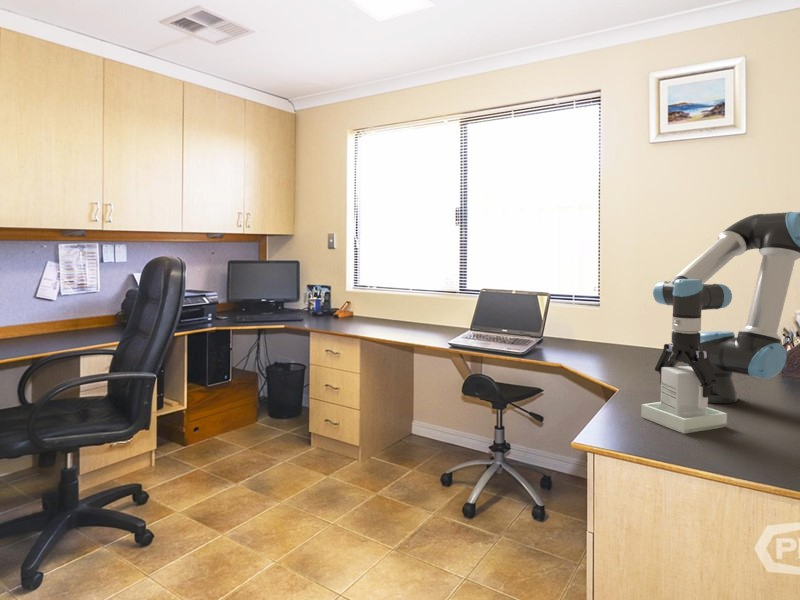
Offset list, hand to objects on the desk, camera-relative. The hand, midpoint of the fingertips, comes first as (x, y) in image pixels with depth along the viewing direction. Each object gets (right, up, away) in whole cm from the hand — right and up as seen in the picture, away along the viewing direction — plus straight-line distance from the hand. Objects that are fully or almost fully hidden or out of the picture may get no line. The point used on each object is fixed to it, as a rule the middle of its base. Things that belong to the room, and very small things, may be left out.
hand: (683, 401), depth 159 cm
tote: (0, -6, +1) cm, 6 cm away
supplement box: (0, -5, +1) cm, 5 cm away
